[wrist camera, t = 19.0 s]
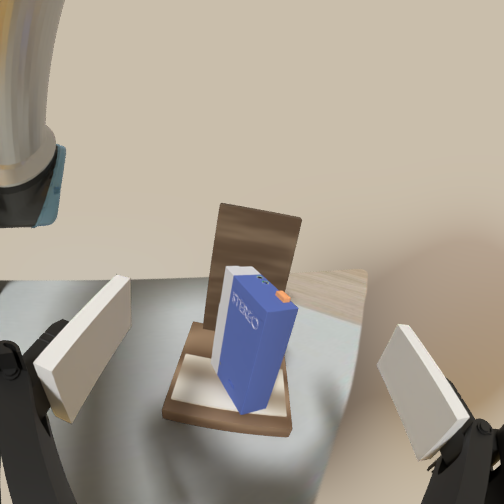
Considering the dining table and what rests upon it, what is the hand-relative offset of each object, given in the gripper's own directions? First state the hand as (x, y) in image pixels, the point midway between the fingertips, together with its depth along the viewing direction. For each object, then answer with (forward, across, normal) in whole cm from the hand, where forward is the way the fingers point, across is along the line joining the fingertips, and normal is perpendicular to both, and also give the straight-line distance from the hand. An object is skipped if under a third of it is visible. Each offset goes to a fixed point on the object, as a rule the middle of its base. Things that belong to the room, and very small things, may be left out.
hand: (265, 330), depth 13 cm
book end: (+13, 0, -16) cm, 20 cm away
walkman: (+10, 0, -14) cm, 18 cm away
